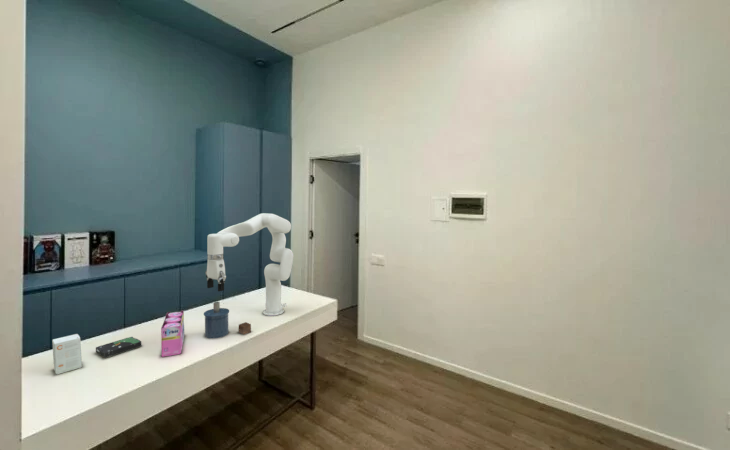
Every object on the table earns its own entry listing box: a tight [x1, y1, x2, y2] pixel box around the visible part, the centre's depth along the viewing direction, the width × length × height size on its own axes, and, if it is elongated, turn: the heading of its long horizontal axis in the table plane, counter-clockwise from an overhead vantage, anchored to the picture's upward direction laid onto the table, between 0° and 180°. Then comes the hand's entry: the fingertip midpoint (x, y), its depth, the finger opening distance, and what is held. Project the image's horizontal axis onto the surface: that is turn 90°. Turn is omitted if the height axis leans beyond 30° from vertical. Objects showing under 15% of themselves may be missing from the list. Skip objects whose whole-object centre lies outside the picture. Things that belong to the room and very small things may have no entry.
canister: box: [204, 313, 229, 339], centre depth 170 cm, size 11×11×12 cm
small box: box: [51, 333, 83, 375], centre depth 133 cm, size 8×6×13 cm
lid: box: [203, 301, 230, 317], centre depth 170 cm, size 12×12×6 cm
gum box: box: [160, 310, 185, 358], centre depth 156 cm, size 24×8×14 cm, turn 26°
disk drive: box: [95, 336, 142, 359], centre depth 151 cm, size 10×3×15 cm
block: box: [238, 321, 252, 336], centre depth 173 cm, size 4×4×4 cm
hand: (215, 289), depth 169 cm, fingers open, 9 cm apart
